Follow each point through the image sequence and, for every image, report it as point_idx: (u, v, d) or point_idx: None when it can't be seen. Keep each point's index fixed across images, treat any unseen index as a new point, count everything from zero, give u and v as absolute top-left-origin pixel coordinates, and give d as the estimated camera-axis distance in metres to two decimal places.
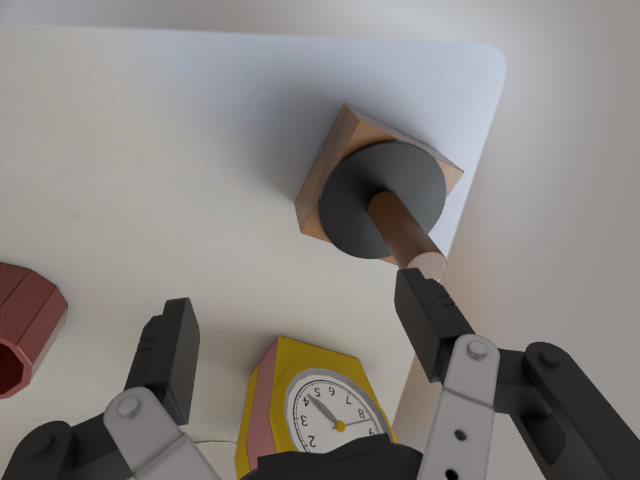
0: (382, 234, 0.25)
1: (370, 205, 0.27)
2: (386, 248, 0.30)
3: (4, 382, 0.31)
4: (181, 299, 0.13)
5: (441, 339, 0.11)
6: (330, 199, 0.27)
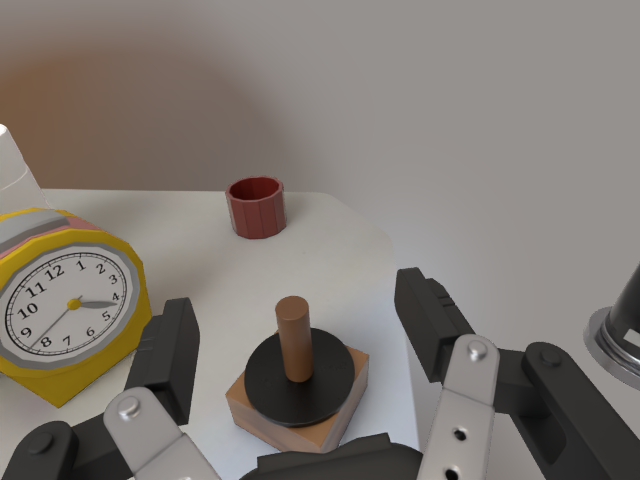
0: None
1: None
2: (254, 375, 0.33)
3: None
4: (181, 299, 0.13)
5: (441, 339, 0.11)
6: (312, 333, 0.36)
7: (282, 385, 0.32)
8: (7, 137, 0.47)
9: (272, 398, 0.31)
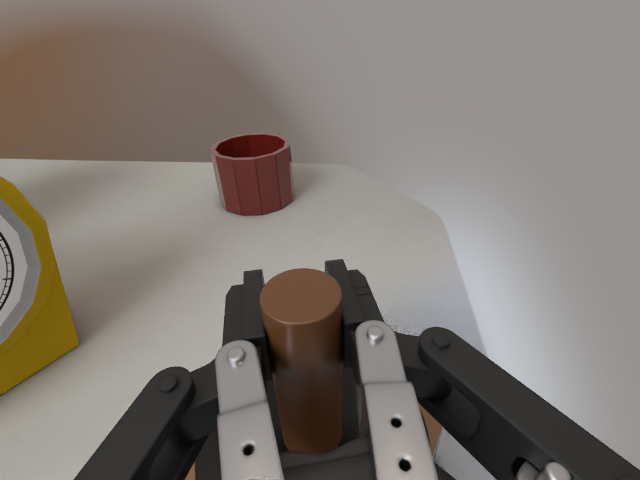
0: None
1: None
2: None
3: None
4: (257, 270, 0.14)
5: (347, 325, 0.12)
6: None
7: None
8: None
9: None
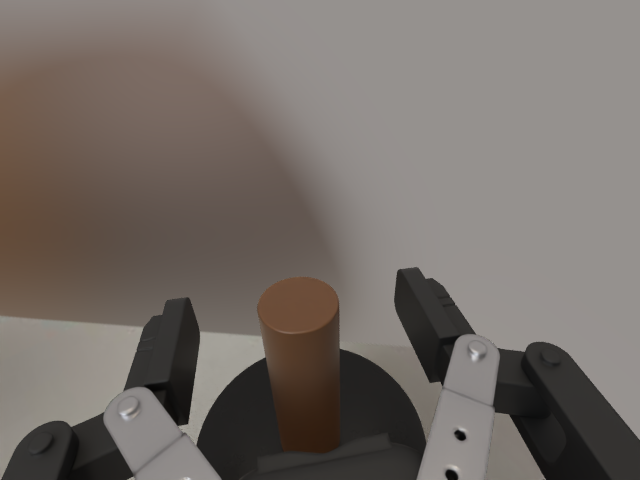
0: None
1: None
2: (217, 445, 0.16)
3: None
4: (181, 299, 0.13)
5: (441, 339, 0.11)
6: None
7: None
8: None
9: None
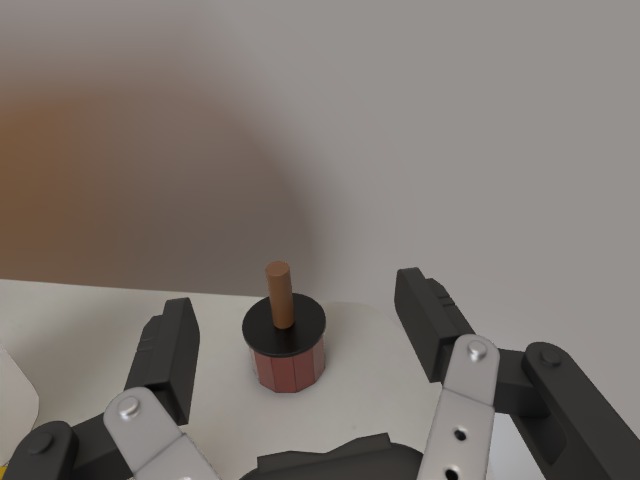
0: None
1: None
2: (250, 323, 0.43)
3: None
4: (181, 299, 0.13)
5: (441, 339, 0.11)
6: (296, 296, 0.47)
7: (270, 330, 0.42)
8: None
9: (262, 338, 0.41)
